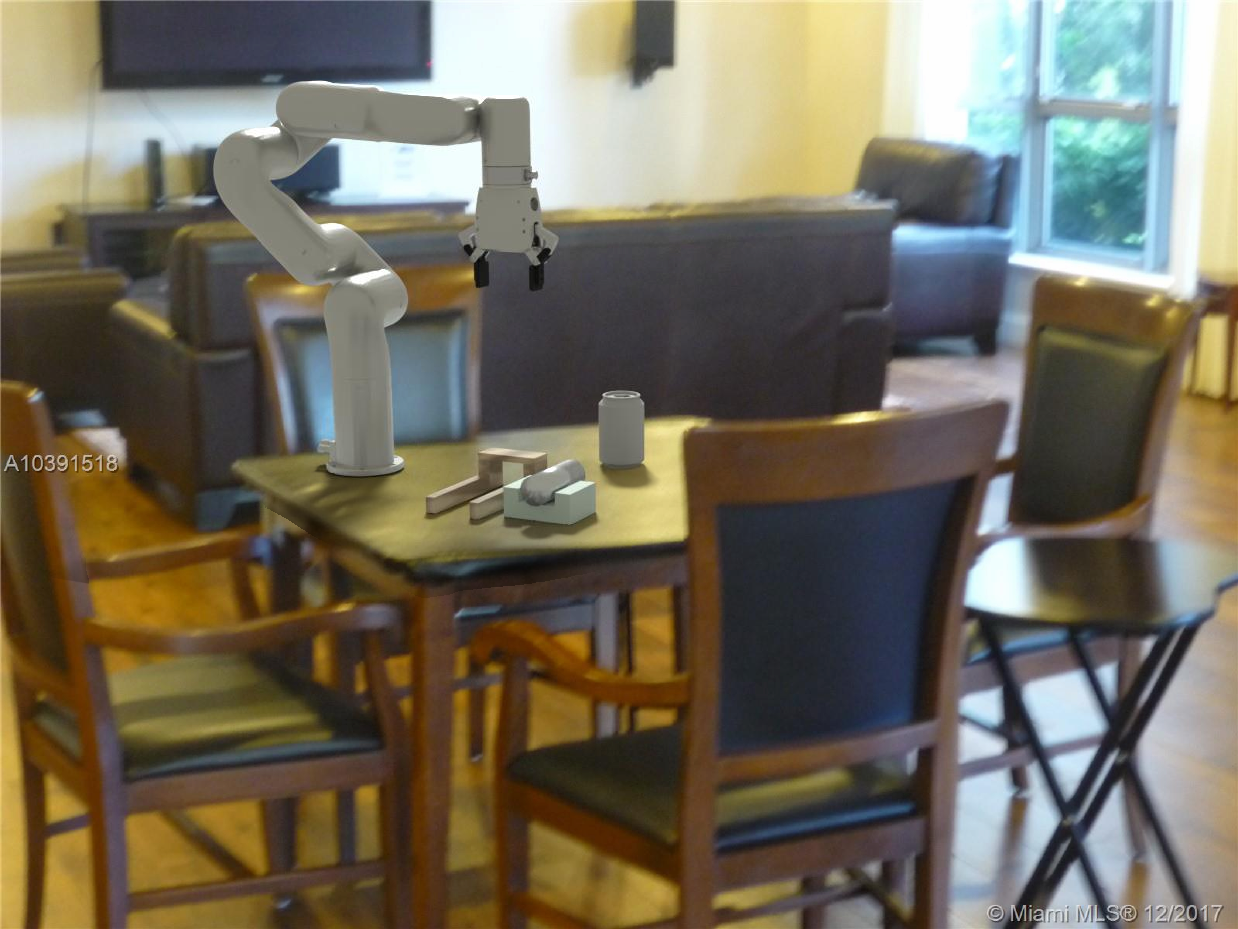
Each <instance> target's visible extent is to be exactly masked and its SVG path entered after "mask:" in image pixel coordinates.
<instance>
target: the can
mask: <svg viewBox="0 0 1238 929" xmlns="http://www.w3.org/2000/svg"><path fill="white" fill-rule="evenodd" d="M598 461H599V462H600V463H601V464H603V466H604V467H606V468H610V469H616V470H617V469H619V470H622V469H623V470H625V469H626V470H627V469H634V468H637V467H639V466H640V465H641V464H642V463H643V462H644V461H645V403H644V401H643V400H642V399H641V394H640V393H639V392H636V391H630V390H615V391H614V390H612V391H607V392H604V393H603V394H602V399H601V400H600V401H599V402H598Z"/></svg>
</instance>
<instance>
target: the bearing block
mask: <svg viewBox="0 0 1238 929" xmlns="http://www.w3.org/2000/svg"><path fill="white" fill-rule="evenodd" d="M503 462H506V463H512V464H513V463H514V464H521V465H522V466H523V467H522V468H523V469H522V471H523V475H522V476H523V477H522V478H525V477H527V476H529V475H534V474H536V473H539V472H541V471H543V470H545V469H548V453H547V452H540V451H539V452H538V451H529V450H518V449H511V448H501V447H500V448H499V447H489V448H486V449H483V450H481V451H479V452H477V465H478V466H477V467H478V468H477V469H478V474H477V475H475V476H472V477H469V478H467V479H465V480H463V481H460V482H457V483H456V484H453V485H450V486H448V487H446V488H443V489H440V490H439V491H436V492H434V493H430V494H428V495H426V496H425V514H429V513H436V514H438V512H439V513H441V512H443V511H446V510H448V509H450V508H452V507H455V506H456V505H459V504H461V503H463V502H466V501H468V500H470V499H473V498H475V499H473V500H471V501H468V502H469V504H468V505H469V519H470V518H474V519H473V520H477V519H479V520H481V519H483V518H482V517H484V518H485V517H487V516H490V515H492V514H494V513H497V512H499V511H501V510H504V496H503V487H504V474H503V473H504V470H503V469H504V468H503V467H504V465H503ZM500 486H503V487H501V488H498V487H500ZM495 488H498V489H495ZM494 489H495V490H494ZM491 490H493V491H491ZM489 491H491V492H489ZM486 492H489V493H486ZM485 493H486V494H485ZM482 494H485V495H482ZM480 495H482V496H480ZM478 496H479V497H478ZM476 497H477V498H476ZM442 510H443V511H442ZM440 511H441V512H440ZM480 518H481V519H480Z"/></svg>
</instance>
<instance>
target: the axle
mask: <svg viewBox="0 0 1238 929" xmlns="http://www.w3.org/2000/svg"><path fill="white" fill-rule="evenodd" d="M585 480H586V470H585V467H584V466H583V464H582V463H581V462H580V461H578V460H577V459H566V460H564V461H561V462H559V463H557V464H554V465H553V466H550V467H547V469H545V470H543V471H541V472H539V473H536V474H534V475H532V476H530V477H527V478H525V479H524V480H523V482H522V483H521V487H520V493H521V496H522V498H523V500H524V501H525V502H526V503H527V504H529V505H531V506H540V505H542V504H544V503H546V502H548V501H550V500H552V499H554V498H555V492H558V491H560V490H562V489H564V488H566V487H568V486H570V485H572V484H575V483H577V482H579V481H585Z"/></svg>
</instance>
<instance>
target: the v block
mask: <svg viewBox="0 0 1238 929" xmlns="http://www.w3.org/2000/svg"><path fill="white" fill-rule="evenodd" d="M530 476H532V475H529V476H527V477H530ZM527 477H525V478H527ZM525 478H523V477H522V478H521V479H520V478H519V479H518V480H516V481H514V482H512V483H509V484H507V485H503V496H504V508H503V517H504V518H510V517H511V519H512V518H513V519H518V520H519V519H520V520H528V521H534V520H535V521H536V522H541V523H543V522H544V523H551V524H559V525H561V524H562V525H566V524H567V526H572V525H573V524H575V523H577V522H580V521H581V520H583V519H586V518H587V517H589V516H591V515H593V514H595V513H596V512H597V506H596V505H597V502H596V500H597V498H596V496H597V494H596V490H597V489H596V486H597V485H596V484H597V483H596V482H595V481H579V482H577V483H575V484H572V485H570V486H568V487H566V488H564V489H562V490H560V491H558V492H555V498H554V499H552V500H550V501H548V502H546V503H544V504H542V505H540V506H531V505H529V504H527V503H526V502H525V501H524V500H523V498H522V496H521V493H520V487H521V483H522V482H523V480H524V479H525ZM571 524H572V525H571Z"/></svg>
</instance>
